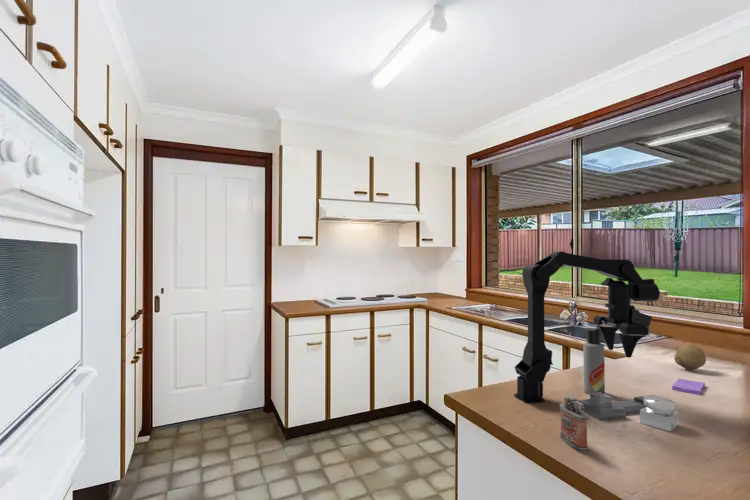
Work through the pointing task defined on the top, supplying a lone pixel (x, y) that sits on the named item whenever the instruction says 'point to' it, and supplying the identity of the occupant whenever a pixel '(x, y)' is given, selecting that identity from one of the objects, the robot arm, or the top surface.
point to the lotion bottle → (594, 362)
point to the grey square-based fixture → (659, 413)
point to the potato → (690, 357)
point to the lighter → (574, 424)
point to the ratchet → (610, 406)
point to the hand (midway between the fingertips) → (619, 353)
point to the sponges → (688, 386)
